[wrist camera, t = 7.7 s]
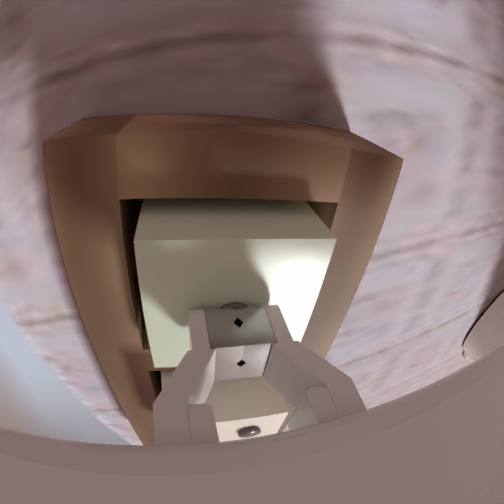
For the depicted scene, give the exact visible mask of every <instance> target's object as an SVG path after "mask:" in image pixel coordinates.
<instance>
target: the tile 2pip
mask: <svg viewBox="0 0 504 504" xmlns="http://www.w3.org/2000/svg"><path fill="white" fill-rule="evenodd" d="M174 371H175V370H168V371H161V381H162V389H163V388H164V386H165V385H166V383H167V382H168V380H169V378H170V377H171V375H172V374H173V372H174ZM205 403H207V404H209V405H210V406H212V407H213V412H214V417H215V422H216V427H217V432H218V437H219V441H220V442H224V441H232V440H240V439H247V438H253V437H260V436H265V435H271V434H276V433H277V432H278V430H279V428H280V427H281V425H282V423H283V422H284V420H285V418H286V416H287V415H288V413H289V410H288V407H287V404H286V401H285V398H284V397H283V396H282V395H281V394H280V393H279V392H278V391H277V390H276V389H275V388H274V387H273V386H272V385H271V384H270V383H269V382H268V381H267V380H266V379H265V378H264V377H263V376H257V377H246V378H236V379H228V380H219V381H214V384H213V386H212V388H211V390H210V392H209V395H208V397H207V399H206V401H205Z"/></svg>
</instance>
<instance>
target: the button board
mask: <svg viewBox="0 0 504 504" xmlns="http://www.w3.org/2000/svg"><path fill="white" fill-rule="evenodd" d="M43 152H44V162H45V170H46V178H47V185H48V192H49V198H50V204H51V209H52V214H53V219H54V224H55V229H56V233H57V238H58V242H59V246H60V250H61V254H62V258H63V262H64V265H65V269H66V272H67V276H68V279H69V283H70V286H71V289H72V292H73V295H74V298H75V301H76V304H77V307H78V310H79V313H80V316H81V318H82V321H83V324H84V326H85V329H86V332H87V334H88V337H89V339H90V342H91V344H92V346H93V349H94V351H95V354H96V356H97V358H98V360H99V363H100V365H101V367H102V369H103V371H104V374H105V376H106V378H107V380H108V382H109V384H110V386H111V388H112V390H113V392H114V394H115V396H116V398H117V400H118V402H119V404H120V405H121V407H122V409H123V411H124V413H125V415H126V416H127V418H128V420H129V422H130V423H131V425H132V427H133V429H134V430H135V432H136V434H137V435H138V437H139V439H140V440H141V442H142V443H143V445H144V446H155V436H154V420H153V403H154V402H155V400H156V398H157V397H158V395H159V394H160V392H161V391H162V381H161V374H160V371H168V370H175V369H176V368H177V367H162V368H154V363H153V359H152V354H151V349H150V344H149V340H148V334H147V329H146V324H145V318H144V313H143V307H142V300H141V294H140V287H139V280H138V273H137V265H136V257H135V248H134V237H135V233H136V228H137V224H138V219H139V215H138V199H156V198H231V199H270V200H295V201H306V202H307V204H308V205H309V206H310V207H311V208H312V209H313V211H314V212H315V213H316V214H317V215H318V216H319V218H320V219H321V220H322V221H323V222H324V224H325V225H326V226H327V227H328V229H329V230H330V231H331V232H332V233H333V235H334V236H335V237H336V238H337V240H336V243H335V246H334V249H333V253H332V256H331V259H330V262H329V265H328V268H327V271H326V274H325V277H324V280H323V283H322V286H321V288H320V291H319V294H318V297H317V300H316V303H315V305H314V308H313V311H312V314H311V316H310V319H309V322H308V324H307V327H306V330H305V332H304V335H303V337H302V340H301V343H302V344H303V345H305V346H306V347H307V348H309V349H310V350H312V351H313V352H314V353H316V354H317V355H319V356H320V357H321V358H323V359H324V358H325V356H326V354H327V352H328V350H329V349H330V347H331V345H332V343H333V341H334V339H335V336H336V334H337V332H338V330H339V328H340V326H341V324H342V322H343V320H344V318H345V316H346V313H347V311H348V309H349V307H350V305H351V302H352V300H353V298H354V296H355V293H356V291H357V289H358V286H359V284H360V282H361V279H362V277H363V275H364V272H365V270H366V267H367V265H368V262H369V260H370V257H371V255H372V252H373V250H374V247H375V244H376V242H377V239H378V236H379V234H380V231H381V228H382V225H383V223H384V220H385V217H386V214H387V211H388V208H389V205H390V202H391V199H392V196H393V193H394V190H395V187H396V184H397V180H398V177H399V174H400V170H401V167H402V163H403V160H404V159H402V158H400V157H398V156H397V155H395V154H393V153H391V152H389V151H387V150H386V149H384V148H382V147H380V146H378V145H376V144H374V143H372V142H370V141H368V140H366V139H364V138H362V137H360V136H358V135H356V134H354V133H352V132H347V131H342V130H337V129H331V128H326V127H320V126H314V125H307V124H301V123H293V122H286V121H278V120H269V119H260V118H249V117H237V116H222V115H200V114H141V115H120V116H105V117H94V118H84V119H81V120H79V121H77V122H75V123H74V124H72V125H70V126H68V127H67V128H65V129H63V130H61V131H60V132H58V133H56V134H55V135H53V136H51V137H50V138H48V139H47V140H45V141H43ZM285 401H286V404H287V407H288V410H289V413H288V415H287V416H286V418H285V420H284V422H283V423H282V425H281V427H280V428H279V430H278V432H277V433H281V432H283V430H284V428H285V427H286V425H287V424H288V422H289V420H290V419H291V417H292V415H293V414H294V412H295V410H296V408H295V407H294V406H293V405H292V404H291V403H289V402H288V401H287V400H286V399H285Z"/></svg>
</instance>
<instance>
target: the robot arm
mask: <svg viewBox="0 0 504 504" xmlns="http://www.w3.org/2000/svg"><path fill="white" fill-rule="evenodd" d="M188 328H189V347H190V350H189V351H187V352H186V354H185V355H184V357H183V358H182V360H181V361H180V363H179V365H178V366H177V368H176V369H175V371H174V372H173V374H172V375H171V377H170V378H169V380H168V382H167V383H166V385H165V386H164V388H163V389H162V391H161V392H160V394H159V395H158V397H157V398H156V400H155V402H154V403H153V420H154V436H155V446H135V445H112V444H111V445H110V444H98V443H88V442H78V441H71V440H64V439H57V438H51V437H45V436H40V435H35V434H30V433H25V432H21V431H17V430H13V429H9V428H5V427H1V426H0V504H504V292H503V293H502V294H501V295H500V296H499V297H498V298H497V299H496V300H495V301H494V302H493V304H492V305H491V306H490V307H489V308H488V309H487V311H486V312H485V313H484V314H483V316H482V317H481V318H480V319H479V321H478V322H477V323H476V325H475V326H474V328H473V329H472V330H471V332H470V333H469V335H468V337H467V338H466V340H465V342H464V345H463V350H464V351H465V352H464V354H463V358H464V359H465V360H466V361H467V360H469V359H471V361H472V362H473V363H471V364H470V365H468V366H466V367H464V368H462V369H460V370H458V371H457V372H455V373H453V374H451V375H449V376H447V377H445V378H443V379H441V380H439V381H436V382H434V383H432V384H430V385H428V386H426V387H423V388H421V389H419V390H417V391H414V392H412V393H409V394H407V395H405V396H402V397H400V398H397V399H395V400H392V401H389V402H387V403H384V404H381V405H379V406H376V407H373V408H370V409H367V410H366V408H365V405H364V403H363V401H362V399H361V397H360V395H359V393H358V391H357V389H356V387H355V385H354V383H353V381H352V379H351V378H350V377H349V376H347V375H346V374H344V373H343V372H341V371H340V370H339V369H337V368H336V367H334V366H333V365H331V364H330V363H329V362H327V361H326V360H324V359H323V358H321V357H320V356H319V355H317V354H316V353H314V352H313V351H312V350H310V349H309V348H307V347H306V346H305V345H303V344H302V343H300V342H299V341H293V339H292V336H291V334H290V331H289V329H288V327H287V324H286V322H285V320H284V317H283V315H282V312H281V310H280V308H279V306H278V305H267V306H255V307H242V308H230V309H204V310H188ZM257 376H263V377H264V378H265V379H266V380H267V381H268V382H269V383H270V384H271V385H272V386H273V387H274V388H275V389H276V390H277V391H278V392H279V393H280V394H281V395H282V396H283V397H284V398H285V399H286V400H287V401H288V402H289V403H291V404H292V405H293V406H294V407H295V408H296V409H297V410H296V412H295V413H294V415H293V417H292V418H291V420H290V421H289V423H288V426H289V429H290V431H286V432H281V433H276V434H271V435H265V436H260V437H253V438H247V439H240V440H232V441H224V442H220V441H219V437H218V432H217V427H216V422H215V417H214V412H213V407H212V406H210V405H209V404H207V403H205V401H206V399H207V397H208V395H209V392H210V390H211V388H212V386H213V384H214V381H219V380H228V379H236V378H246V377H257Z"/></svg>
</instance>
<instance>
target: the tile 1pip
mask: <svg viewBox="0 0 504 504" xmlns="http://www.w3.org/2000/svg"><path fill="white" fill-rule="evenodd" d="M336 240H337V238H336V237H335V236H334V235H333V233H332V232H331V231H330V230H329V229H328V227H327V226H326V225H325V224H324V222H323V221H322V220H321V219H320V218H319V216H318V215H317V214H316V213H315V212H314V211H313V209H312V208H311V207H310V206H309V205H308V204H307V202H306V201H295V200H270V199H231V198H156V199H143V203H142V207H141V211H140V215H139V219H138V224H137V228H136V233H135V237H134V248H135V257H136V265H137V273H138V280H139V287H140V294H141V300H142V307H143V313H144V318H145V324H146V329H147V334H148V340H149V344H150V349H151V354H152V359H153V363H154V368H162V367H177V366H178V365H179V363H180V361H181V360H182V358H183V357H184V355H185V354H186V352H187V351H189V350H190V347H189V328H188V310H204V309H230V308H242V307H255V306H267V305H278V306H279V308H280V310H281V312H282V315H283V317H284V320H285V322H286V324H287V327H288V329H289V331H290V334H291V336H292V339H293V341H299V342H300V343H301V340H302V337H303V335H304V332H305V330H306V327H307V324H308V322H309V319H310V316H311V314H312V311H313V308H314V305H315V303H316V300H317V297H318V294H319V291H320V288H321V286H322V283H323V280H324V277H325V274H326V271H327V268H328V265H329V262H330V259H331V256H332V253H333V249H334V246H335V243H336Z"/></svg>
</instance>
